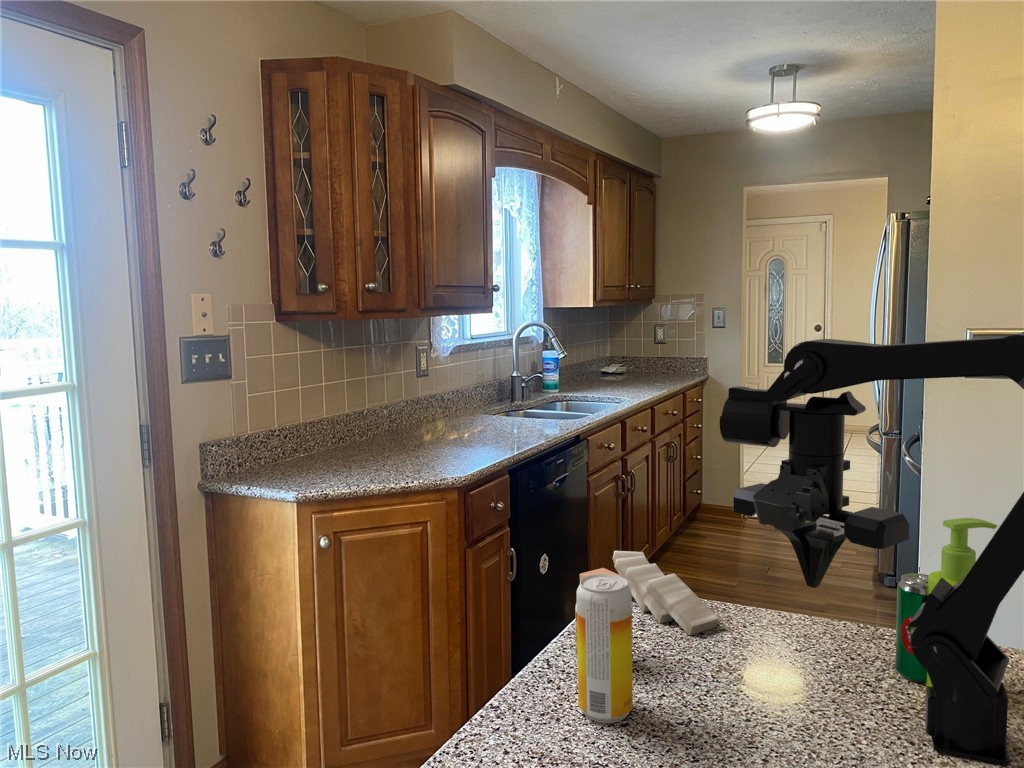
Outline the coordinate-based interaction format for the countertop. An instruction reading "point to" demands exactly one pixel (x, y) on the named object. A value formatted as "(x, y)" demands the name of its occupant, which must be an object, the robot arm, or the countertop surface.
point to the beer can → (604, 647)
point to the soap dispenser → (956, 555)
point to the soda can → (908, 603)
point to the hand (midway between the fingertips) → (812, 586)
